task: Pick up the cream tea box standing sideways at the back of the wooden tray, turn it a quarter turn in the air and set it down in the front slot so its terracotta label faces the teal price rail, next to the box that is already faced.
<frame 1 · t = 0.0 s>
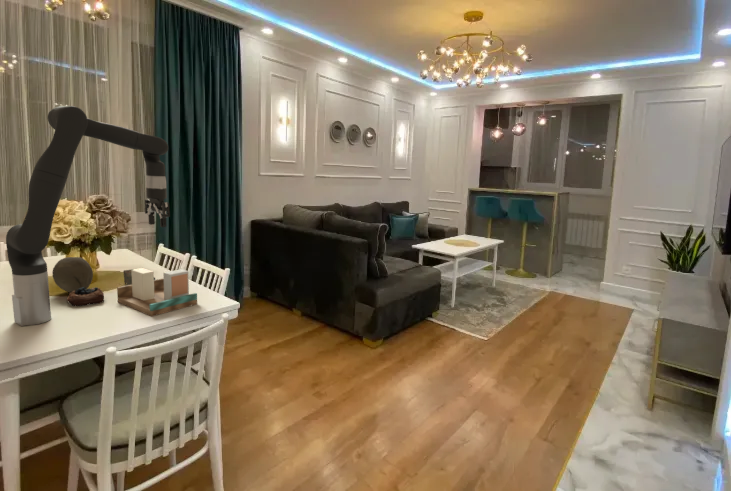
hand: (157, 225, 174), 29 cm above the table, fingers open, 8 cm apart
wooden tray: (157, 302, 166), on the table
tea box: (143, 297, 166), point 2 cm above the table, touching wooden tray
pastry: (86, 302, 163), on the table
faced tea box: (176, 298, 167), point 2 cm above the table, touching wooden tray
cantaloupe: (74, 292, 173), on the table
dark brown box: (139, 287, 186), on the table
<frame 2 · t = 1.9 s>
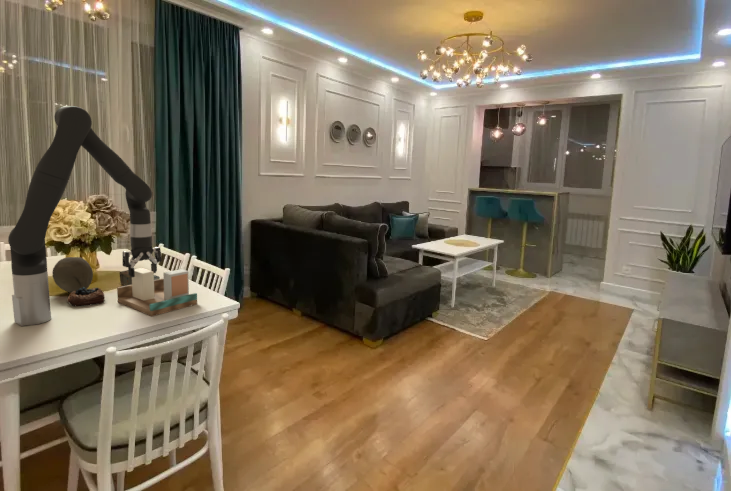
hand: (143, 274, 164), 11 cm above the table, fingers open, 8 cm apart
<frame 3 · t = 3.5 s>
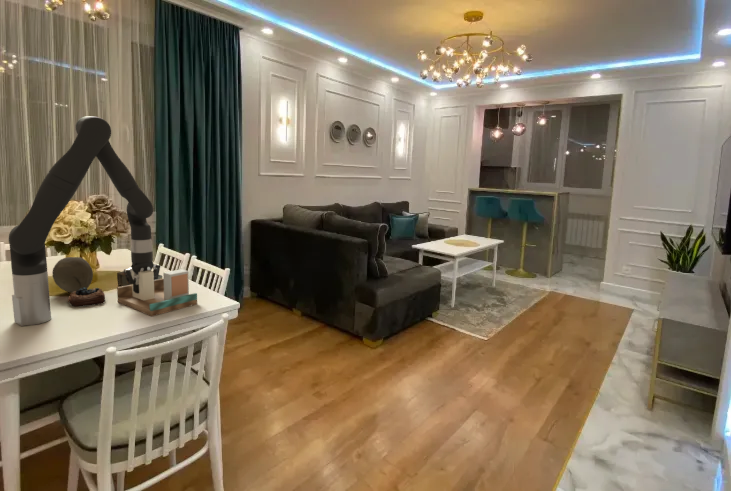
hand: (143, 291, 166), 4 cm above the table, fingers closed on tea box, 4 cm apart
tea box: (143, 297, 166), point 2 cm above the table, touching gripper, wooden tray
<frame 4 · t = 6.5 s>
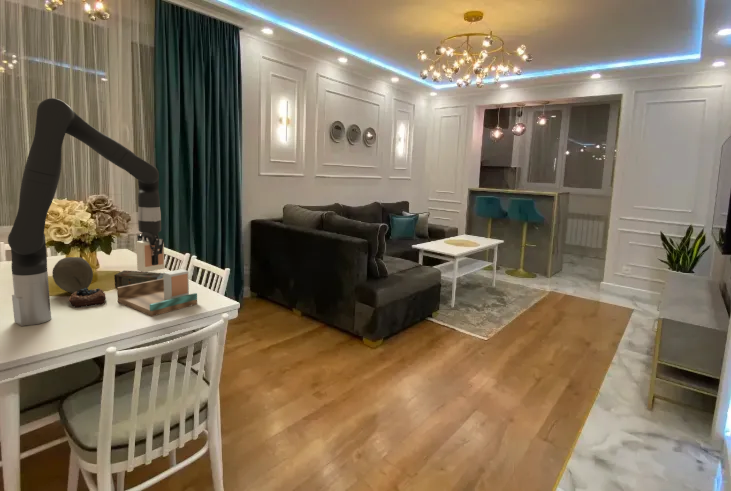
hand: (151, 263, 156), 18 cm above the table, fingers closed on tea box, 4 cm apart
tea box: (151, 269, 156), point 16 cm above the table, touching gripper
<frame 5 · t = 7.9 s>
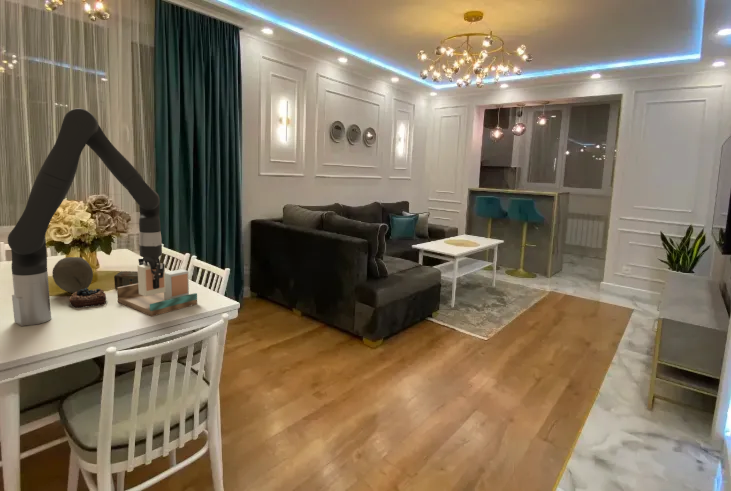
hand: (152, 286, 158), 9 cm above the table, fingers closed on tea box, 4 cm apart
tea box: (152, 292, 158), point 6 cm above the table, touching gripper
when the fingers open (6 cm above the table, at t = 9.4 s): tea box drops 1 cm, resting on wooden tray.
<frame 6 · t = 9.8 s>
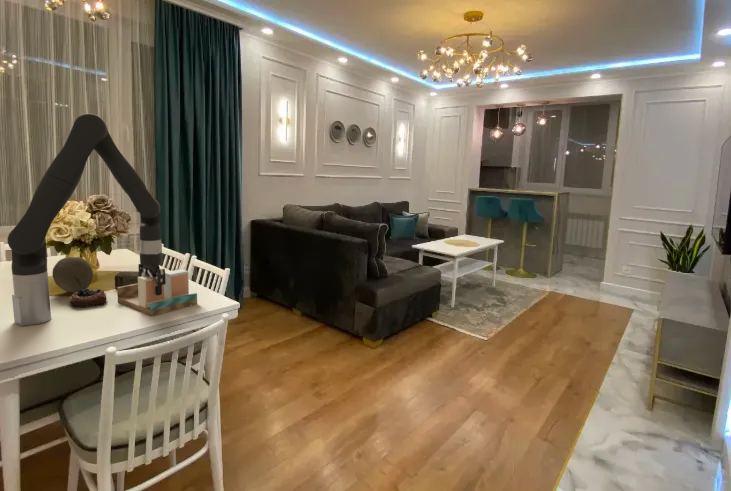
hand: (152, 292, 158), 7 cm above the table, fingers open, 8 cm apart
tea box: (152, 303, 159), point 2 cm above the table, touching wooden tray
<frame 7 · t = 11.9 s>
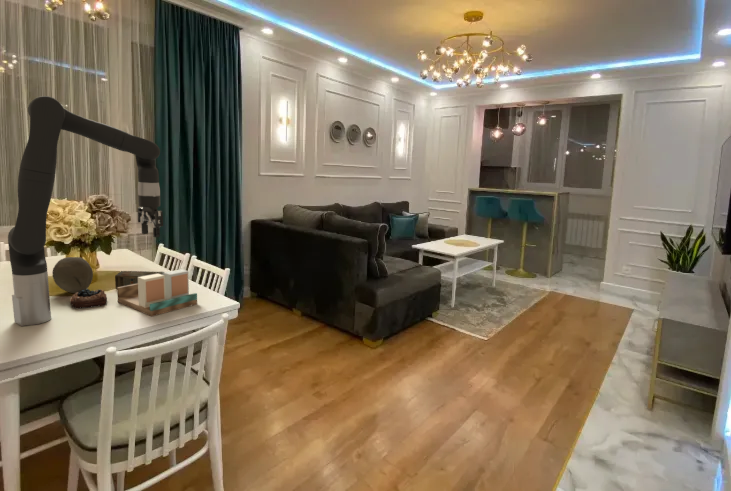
hand: (150, 235, 162), 27 cm above the table, fingers open, 8 cm apart
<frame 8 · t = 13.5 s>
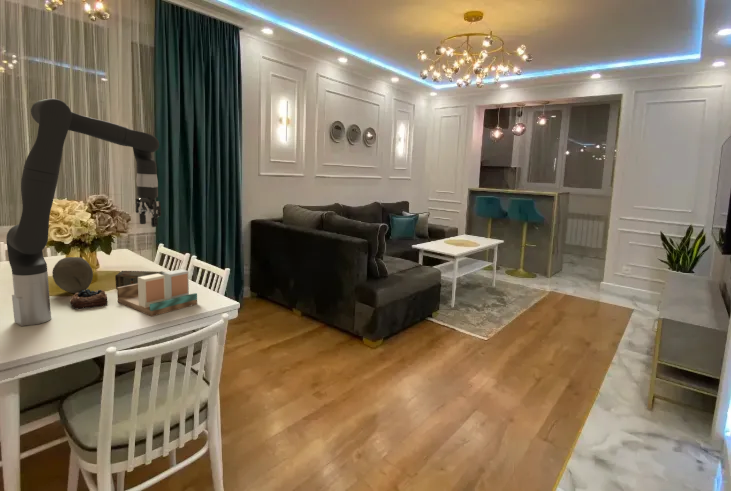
hand: (148, 225, 168), 30 cm above the table, fingers open, 8 cm apart
at the end: tea box inside the target area (0.2 cm from its centre), point 2.0 cm above the table; tea box tilted 0°; the gripper is holding nothing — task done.
